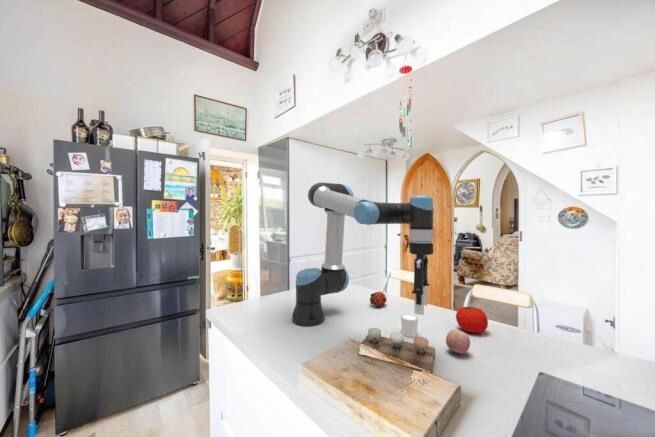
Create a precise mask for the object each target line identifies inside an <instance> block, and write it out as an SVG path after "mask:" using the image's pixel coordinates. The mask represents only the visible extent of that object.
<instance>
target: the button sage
mask: <svg viewBox="0 0 655 437" xmlns="http://www.w3.org/2000/svg"><path fill="white" fill-rule="evenodd" d="M367 335H368V336H369V337H371V338H372V343H373V344H377V338H380V337H382V330H381V329H380V328H377V327H369V328H368V330H367Z"/></svg>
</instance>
